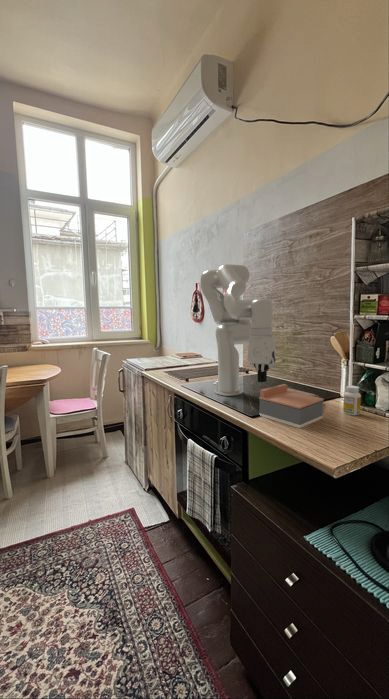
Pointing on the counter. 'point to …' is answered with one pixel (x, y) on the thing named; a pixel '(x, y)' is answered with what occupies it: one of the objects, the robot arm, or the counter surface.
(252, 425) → the counter surface
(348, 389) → the supplement bottle
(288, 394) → the mailer lid
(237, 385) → the robot arm
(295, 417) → the tray
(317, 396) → the packaged product
